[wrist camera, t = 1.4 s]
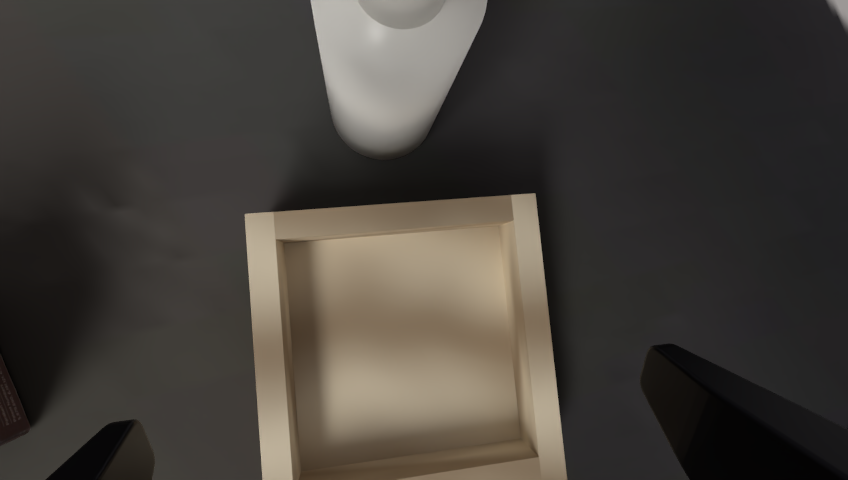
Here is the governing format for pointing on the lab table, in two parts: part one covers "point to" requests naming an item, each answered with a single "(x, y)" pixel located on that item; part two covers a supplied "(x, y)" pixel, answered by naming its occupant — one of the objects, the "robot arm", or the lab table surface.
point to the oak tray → (404, 342)
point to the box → (10, 409)
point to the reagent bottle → (391, 66)
